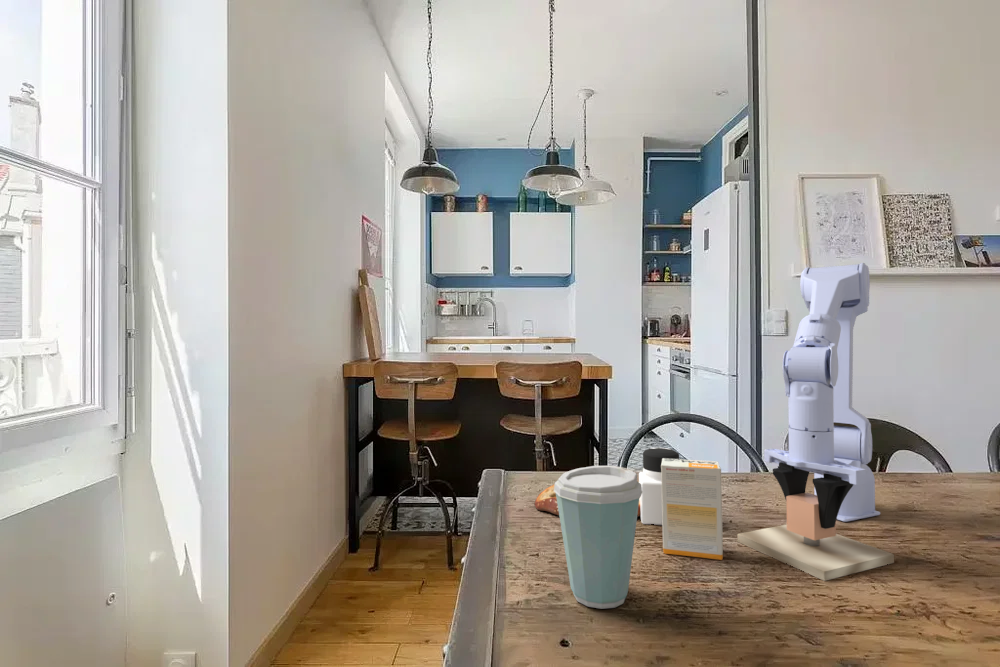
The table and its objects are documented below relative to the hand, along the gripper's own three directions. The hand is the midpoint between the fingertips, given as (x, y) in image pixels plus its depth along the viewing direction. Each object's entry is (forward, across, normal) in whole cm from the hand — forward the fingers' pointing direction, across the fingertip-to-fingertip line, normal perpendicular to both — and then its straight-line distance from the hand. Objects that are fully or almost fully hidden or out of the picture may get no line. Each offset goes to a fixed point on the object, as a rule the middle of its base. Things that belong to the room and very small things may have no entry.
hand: (811, 521), depth 76 cm
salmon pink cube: (+2, 0, 0) cm, 2 cm away
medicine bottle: (+5, -20, -11) cm, 23 cm away
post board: (+4, 0, 0) cm, 4 cm away
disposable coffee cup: (+5, -1, -36) cm, 36 cm away
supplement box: (+5, -7, -16) cm, 18 cm away
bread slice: (+4, -29, -19) cm, 35 cm away
